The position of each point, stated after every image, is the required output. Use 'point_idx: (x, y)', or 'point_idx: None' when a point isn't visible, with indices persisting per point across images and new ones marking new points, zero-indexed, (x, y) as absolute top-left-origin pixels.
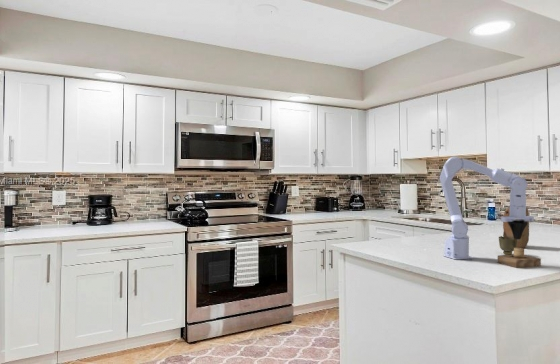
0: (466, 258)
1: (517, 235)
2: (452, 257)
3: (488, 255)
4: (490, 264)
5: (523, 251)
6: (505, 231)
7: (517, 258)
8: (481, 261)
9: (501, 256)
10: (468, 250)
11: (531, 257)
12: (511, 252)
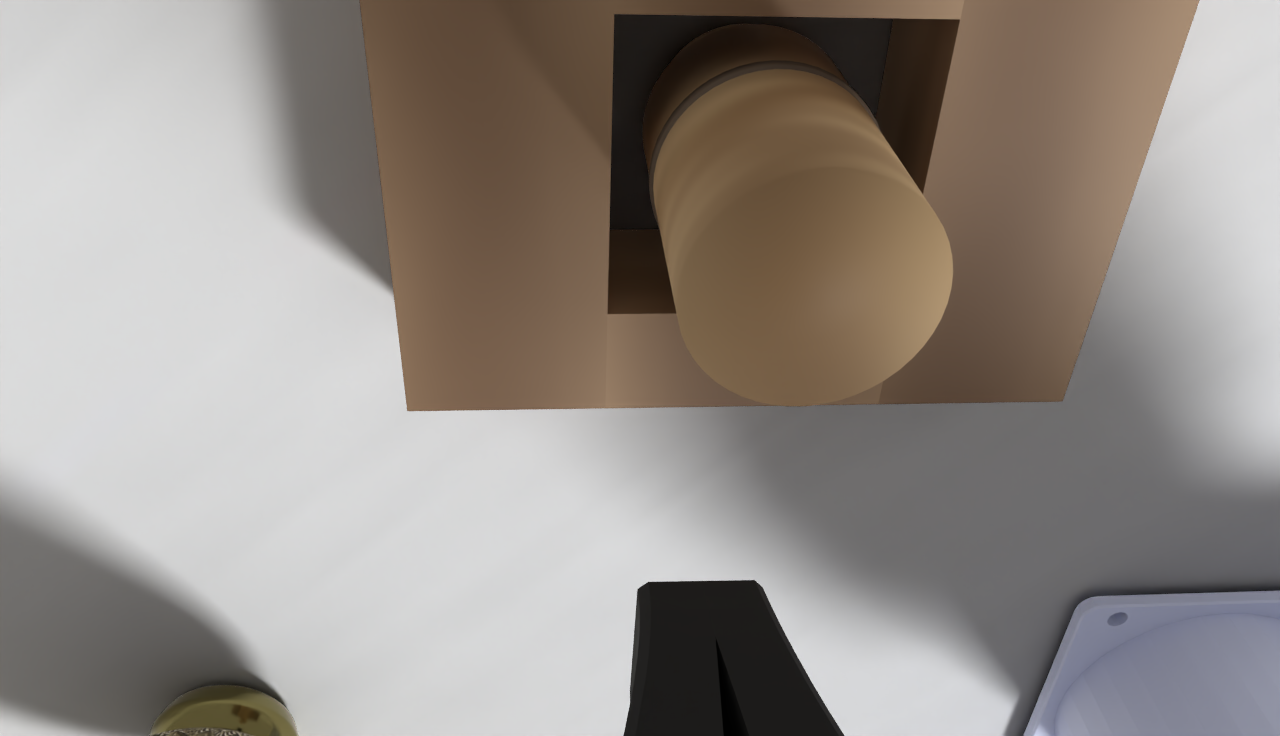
0: (1224, 594)
1: (804, 702)
2: None
3: (619, 710)
4: (1267, 241)
5: (794, 137)
6: None
7: (976, 51)
8: (1156, 443)
9: (1089, 314)
10: (1199, 727)
11: (484, 58)
12: (195, 716)
